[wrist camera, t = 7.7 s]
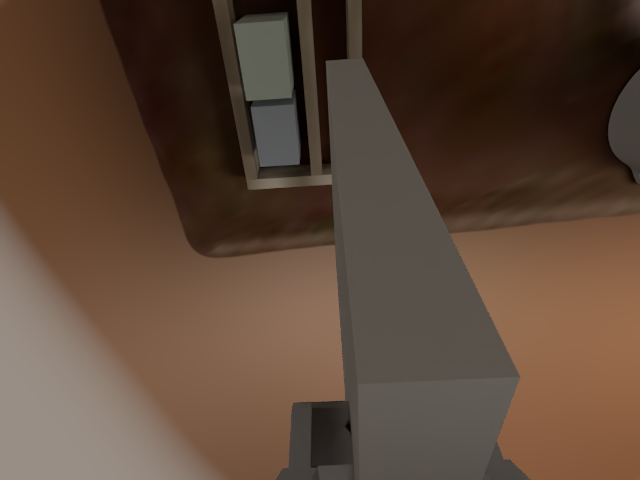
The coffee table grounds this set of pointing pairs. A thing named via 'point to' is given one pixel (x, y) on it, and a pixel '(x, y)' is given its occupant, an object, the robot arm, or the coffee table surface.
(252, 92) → the sage offcut
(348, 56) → the birch rack
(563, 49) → the coffee table surface
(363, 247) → the tall board
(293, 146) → the slate offcut
